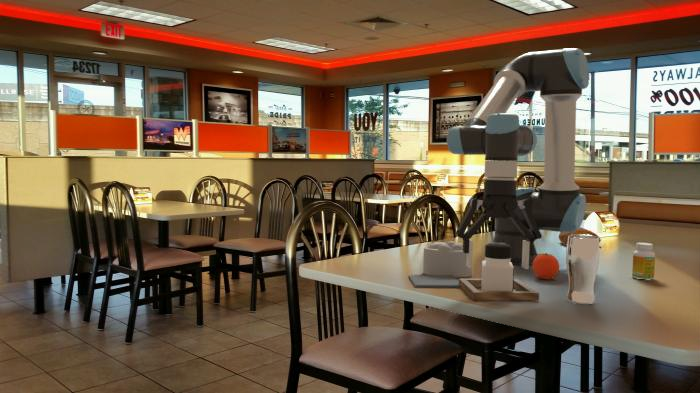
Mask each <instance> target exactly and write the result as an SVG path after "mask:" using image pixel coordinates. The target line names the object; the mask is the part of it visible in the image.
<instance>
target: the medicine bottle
mask: <svg viewBox="0 0 700 393" xmlns="http://www.w3.org/2000/svg"><path fill="white" fill-rule="evenodd" d="M510 261H511V246H510V245H508V244H505V243H492V242H490V243H487V244H485V246H484V260H482V261H481V278H480V279H481V287H480V288H481V290H480V291H514V287H513V282H514V279H515V277H514V275H515V267H514V264H512V263H511V262H510Z"/></svg>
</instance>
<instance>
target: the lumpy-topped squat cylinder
mask: <svg viewBox="0 0 700 393" xmlns="http://www.w3.org/2000/svg"><path fill="white" fill-rule="evenodd" d="M466 258H467V253H464V252H463V243H460V242H456V241H448V242H443V241H434V242H433V243H431V244H429V245H427V246H425V247H423V261H422V262H423V266H422V267H423V268H422V269H423V270H422V273H423V275H453V276H454V277H455V278H468V277H472V274H473V271H472V269H473V267H472V268H468V267H467V266H466Z"/></svg>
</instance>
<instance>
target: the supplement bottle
mask: <svg viewBox="0 0 700 393" xmlns="http://www.w3.org/2000/svg"><path fill="white" fill-rule="evenodd" d="M653 245H654V244H653V243H650V242H649V243H648V242H636V246H635V247H636V250H635V251H633V254H632V270H631V271H632V272H631V277H632V278H633V277H635V278H641V279H653V278H654V279H655V265H656V264H655V263H656V254H655V252H654V251H652V250H653V249H654V248H653V247H654V246H653ZM654 279H653V280H654Z"/></svg>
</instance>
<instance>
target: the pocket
mask: <svg viewBox="0 0 700 393" xmlns="http://www.w3.org/2000/svg"><path fill="white" fill-rule="evenodd" d="M458 281H459V284H460V285H461V289H462V290H463V291H464V293H465V294H467V295H468V297H470V298H471V299H472V300H473V301H511V300H540V299H539V298H540V297H539V296H540V292H538V291H536V290H535V289H534V288H532V287H530V286H529V285H527V284H526V283H524V282H523V281H521V280H520V279H518V278H514V282H513V289H515V290H513V291H482V290H478V289H477V288H481V278H458ZM516 289H517V290H516Z"/></svg>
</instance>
